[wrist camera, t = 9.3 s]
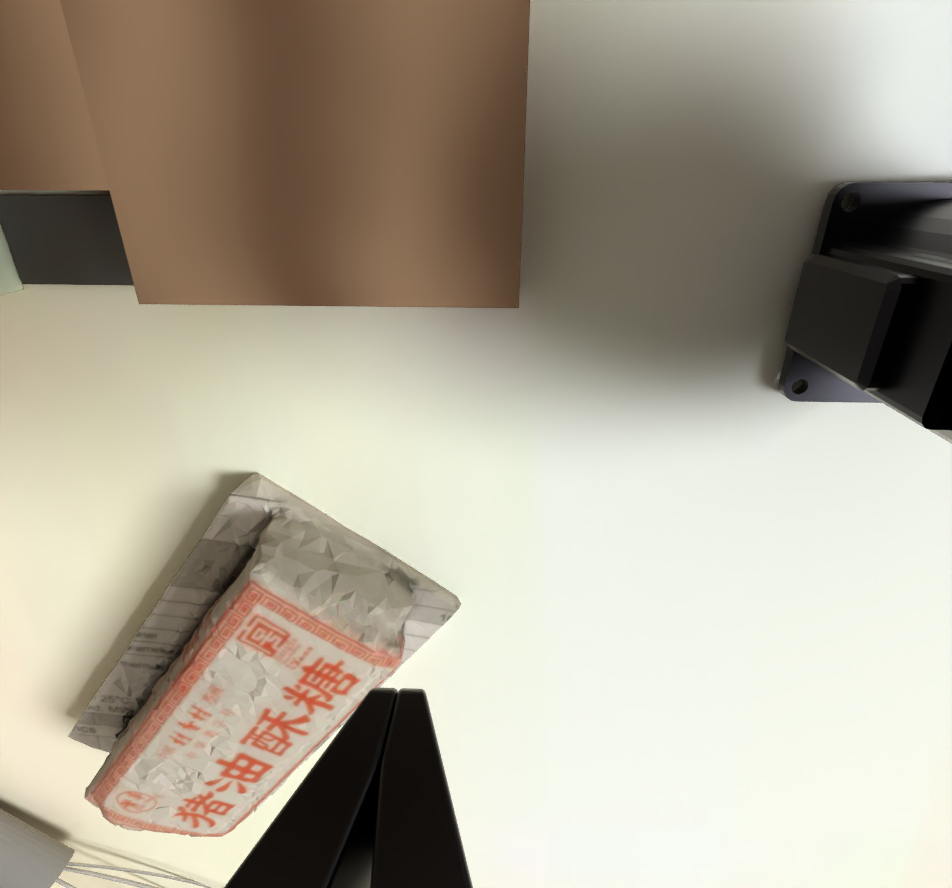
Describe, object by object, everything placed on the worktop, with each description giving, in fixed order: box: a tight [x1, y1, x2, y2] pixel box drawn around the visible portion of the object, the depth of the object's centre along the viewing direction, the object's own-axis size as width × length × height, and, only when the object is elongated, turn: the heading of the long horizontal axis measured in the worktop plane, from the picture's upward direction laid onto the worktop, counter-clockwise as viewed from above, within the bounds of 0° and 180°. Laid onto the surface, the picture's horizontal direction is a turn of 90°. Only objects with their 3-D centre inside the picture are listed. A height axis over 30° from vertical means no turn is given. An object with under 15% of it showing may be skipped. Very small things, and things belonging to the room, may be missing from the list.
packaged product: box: [69, 473, 461, 837], centre depth 24 cm, size 18×5×10 cm
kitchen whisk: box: [0, 809, 211, 888], centre depth 30 cm, size 6×34×6 cm, turn 47°
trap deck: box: [0, 0, 530, 308], centre depth 14 cm, size 23×12×4 cm, turn 90°
